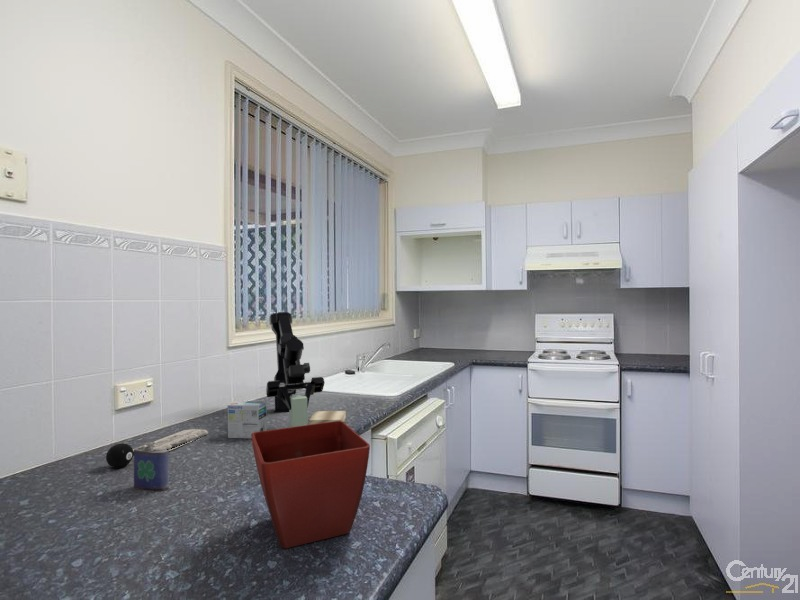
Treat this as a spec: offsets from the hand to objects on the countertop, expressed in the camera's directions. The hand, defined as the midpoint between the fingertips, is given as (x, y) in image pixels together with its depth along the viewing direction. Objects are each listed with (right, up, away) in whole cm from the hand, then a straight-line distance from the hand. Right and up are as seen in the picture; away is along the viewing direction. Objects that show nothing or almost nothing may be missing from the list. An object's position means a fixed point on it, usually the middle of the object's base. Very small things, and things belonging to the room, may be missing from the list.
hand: (299, 408), depth 145 cm
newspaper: (-37, -10, -7) cm, 39 cm away
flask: (-25, -9, -41) cm, 49 cm away
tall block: (0, -7, +1) cm, 7 cm away
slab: (+8, -8, +11) cm, 16 cm away
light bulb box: (-16, -9, -1) cm, 19 cm away
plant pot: (+15, -8, -60) cm, 62 cm away
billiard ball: (-41, -9, -27) cm, 50 cm away
